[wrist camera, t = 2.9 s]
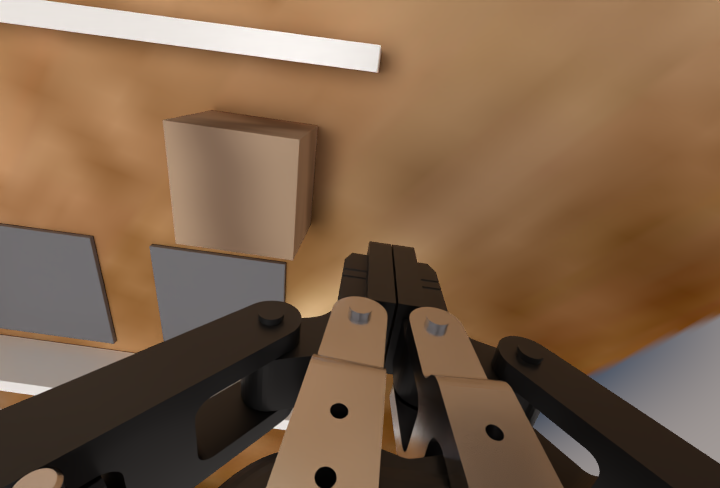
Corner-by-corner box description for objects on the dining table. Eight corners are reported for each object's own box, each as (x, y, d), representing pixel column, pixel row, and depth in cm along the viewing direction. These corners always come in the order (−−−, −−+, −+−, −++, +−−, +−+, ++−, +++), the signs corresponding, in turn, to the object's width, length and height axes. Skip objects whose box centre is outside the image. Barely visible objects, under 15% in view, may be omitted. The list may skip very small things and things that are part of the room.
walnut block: (318, 125, 20) (299, 139, 16) (311, 223, 23) (292, 260, 18) (212, 109, 20) (162, 120, 16) (217, 209, 23) (175, 243, 18)
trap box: (381, 48, 18) (380, 41, 14) (337, 390, 29) (329, 444, 24) (-201, -29, 18) (-374, -60, 14) (-34, 339, 29) (-105, 384, 24)
